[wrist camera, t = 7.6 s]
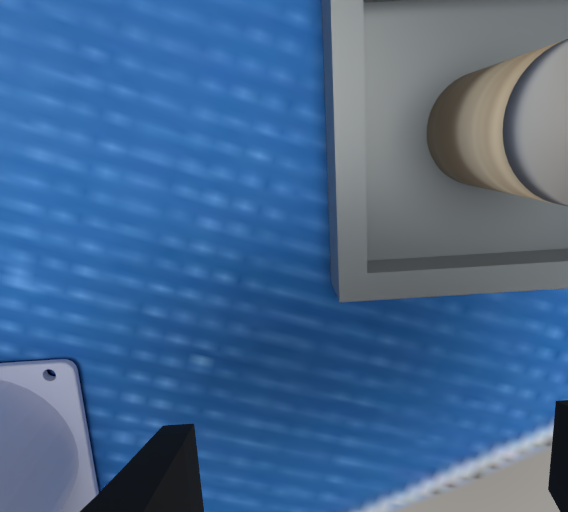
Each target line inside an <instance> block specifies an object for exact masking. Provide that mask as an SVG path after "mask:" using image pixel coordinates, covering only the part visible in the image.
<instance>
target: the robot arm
mask: <svg viewBox="0 0 568 512" xmlns="http://www.w3.org/2000/svg"><path fill="white" fill-rule="evenodd" d="M47 369H51V370H53V371H54V372H55V374H56V376H55V377H54V376H51V375H49V374H48V372H47ZM548 490H549V492H550V493H551V495H552V497H553V499H554V501H555V503H556V505H557V506H558V508H559V510H560V512H568V400H565V401H556V408H555V419H554V430H553V442H552V454H551V464H550V476H549V487H548ZM0 512H204V508H203V499H202V490H201V482H200V473H199V464H198V455H197V446H196V437H195V429H194V424H183V425H167V426H163V427H162V428H161V429H160V430H159V431H158V432H157V433H156V434H155V435H154V436H153V437H152V438H151V439H150V440H149V441H148V442H147V443H146V444H145V445H144V446H143V448H142V449H141V450H140V451H139V452H138V453H137V454H136V455H135V456H134V457H133V458H132V459H131V460H130V462H129V463H128V464H127V465H126V466H125V467H124V468H123V469H122V470H121V471H120V472H119V473H118V474H117V475H116V476H115V477H114V478H113V479H112V480H111V481H110V482H109V483H108V484H107V485H106V486H105V488H104V489H103V490H102V491H101V492H100V493H99V491H98V485H97V480H96V474H95V468H94V462H93V456H92V450H91V445H90V439H89V433H88V427H87V421H86V415H85V410H84V404H83V398H82V392H81V386H80V380H79V374H78V369H77V367H76V365H75V364H74V363H73V362H72V361H70V360H67V359H57V360H41V361H25V362H9V363H0Z"/></svg>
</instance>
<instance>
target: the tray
mask: <svg viewBox="0 0 568 512" xmlns="http://www.w3.org/2000/svg"><path fill="white" fill-rule="evenodd" d="M321 2H322V31H323V61H324V91H325V120H326V150H327V180H328V209H329V239H330V269H331V283H332V286H333V288H334V290H335V293H336V295H337V298H338V300H339V302H354V301H371V300H387V299H403V298H419V297H435V296H451V295H467V294H484V293H500V292H516V291H532V290H548V289H564V288H568V206H563V205H559V204H554V203H549V202H545V201H540V200H536V199H531V198H527V197H522V196H517V195H513V194H508V193H504V192H499V191H495V190H490V189H485V188H481V187H476V186H472V185H467V184H463V183H460V182H458V181H455V180H453V179H452V178H450V177H448V176H447V175H446V174H444V173H443V172H442V171H441V170H440V169H439V167H438V166H437V165H436V163H435V162H434V160H433V158H432V156H431V153H430V151H429V147H428V143H427V124H428V119H429V115H430V112H431V110H432V107H433V105H434V103H435V102H436V100H437V98H438V97H439V96H440V94H441V93H442V92H443V91H444V90H445V89H446V88H447V86H449V85H450V84H451V83H452V82H454V81H455V80H457V79H458V78H460V77H462V76H464V75H467V74H469V73H472V72H475V71H478V70H480V69H483V68H486V67H489V66H492V65H495V64H498V63H500V62H503V61H506V60H509V59H512V58H515V57H517V56H520V55H523V54H526V53H529V52H532V51H534V50H537V49H540V48H543V47H546V46H549V45H552V44H554V43H557V42H560V41H563V40H566V39H568V0H321Z"/></svg>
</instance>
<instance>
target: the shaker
mask: <svg viewBox="0 0 568 512" xmlns="http://www.w3.org/2000/svg"><path fill="white" fill-rule="evenodd" d="M427 143H428V147H429V151H430V153H431V156H432V158H433V160H434V162H435V163H436V165H437V166H438V167H439V169H440V170H441V171H442V172H443V173H444V174H446V175H447V176H448V177H450V178H452V179H453V180H455V181H458V182H460V183H463V184H467V185H472V186H476V187H481V188H485V189H490V190H495V191H499V192H504V193H508V194H513V195H517V196H522V197H527V198H531V199H536V200H540V201H545V202H549V203H554V204H559V205H563V206H568V39H566V40H563V41H560V42H557V43H554V44H552V45H549V46H546V47H543V48H540V49H537V50H534V51H532V52H529V53H526V54H523V55H520V56H517V57H515V58H512V59H509V60H506V61H503V62H500V63H498V64H495V65H492V66H489V67H486V68H483V69H480V70H478V71H475V72H472V73H469V74H467V75H464V76H462V77H460V78H458V79H457V80H455V81H454V82H452V83H451V84H450V85H449V86H447V88H446V89H445V90H444V91H443V92H442V93H441V94H440V96H439V97H438V98H437V100H436V102H435V103H434V105H433V107H432V110H431V112H430V115H429V119H428V124H427Z"/></svg>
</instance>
